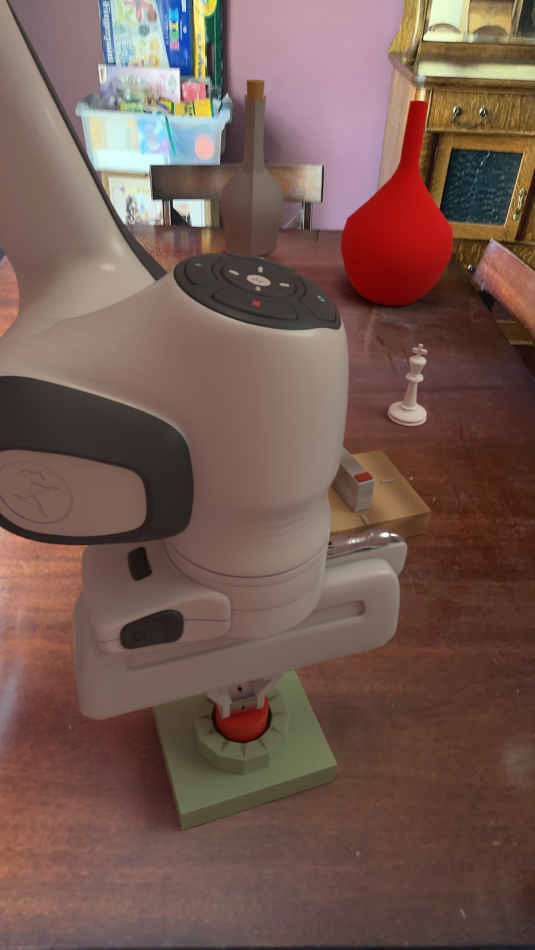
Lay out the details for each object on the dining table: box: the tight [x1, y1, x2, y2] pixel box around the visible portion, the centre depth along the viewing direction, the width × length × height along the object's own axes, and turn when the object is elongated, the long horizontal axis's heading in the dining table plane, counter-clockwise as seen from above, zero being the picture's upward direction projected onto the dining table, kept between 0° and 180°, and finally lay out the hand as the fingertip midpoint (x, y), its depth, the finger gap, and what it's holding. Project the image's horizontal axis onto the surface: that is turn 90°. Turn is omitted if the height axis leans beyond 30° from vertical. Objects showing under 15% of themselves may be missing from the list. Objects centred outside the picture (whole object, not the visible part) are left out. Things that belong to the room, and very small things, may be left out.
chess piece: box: [387, 343, 428, 427], centre depth 83 cm, size 5×5×10 cm
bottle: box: [218, 79, 286, 258], centre depth 117 cm, size 11×11×30 cm
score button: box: [216, 694, 268, 742], centre depth 47 cm, size 4×4×2 cm
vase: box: [340, 99, 454, 307], centre depth 109 cm, size 18×18×30 cm
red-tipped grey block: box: [331, 446, 375, 512], centre depth 68 cm, size 7×2×4 cm, turn 25°
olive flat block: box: [152, 670, 338, 831], centre depth 48 cm, size 11×9×4 cm
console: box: [328, 449, 432, 539], centre depth 70 cm, size 14×11×3 cm
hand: (239, 704), depth 46 cm, fingers closed
